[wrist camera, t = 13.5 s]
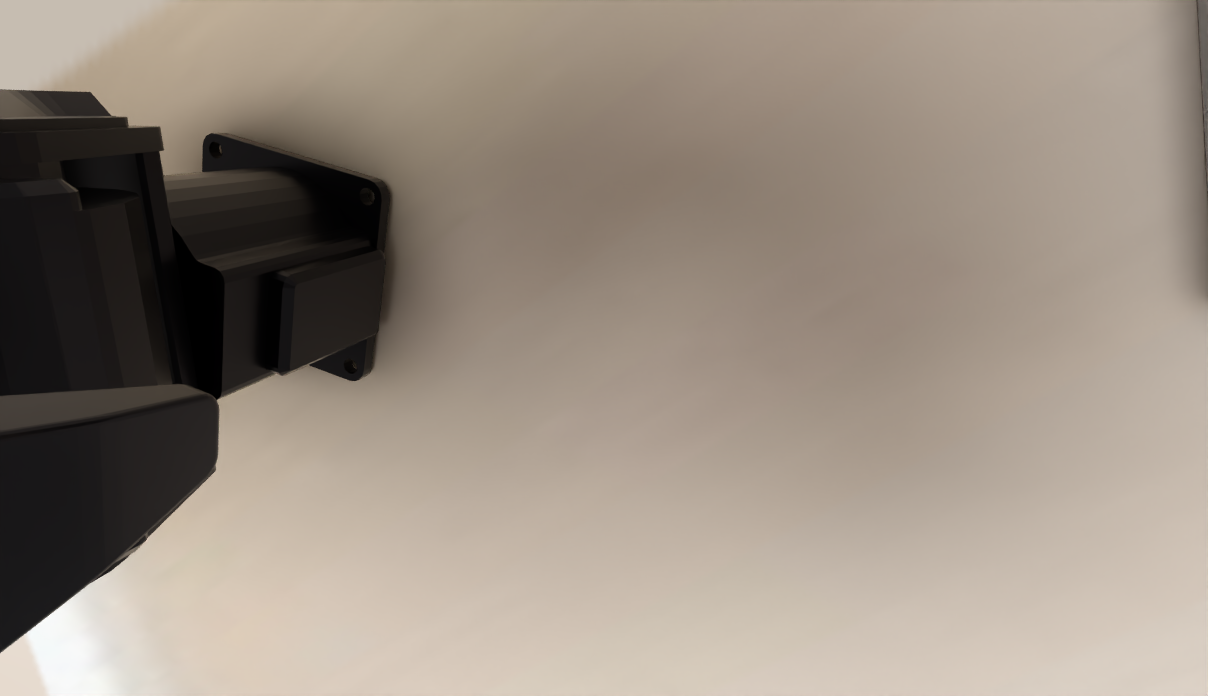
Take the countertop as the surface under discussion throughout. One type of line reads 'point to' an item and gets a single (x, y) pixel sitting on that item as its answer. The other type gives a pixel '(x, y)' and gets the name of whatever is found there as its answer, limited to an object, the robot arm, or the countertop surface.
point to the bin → (1204, 65)
